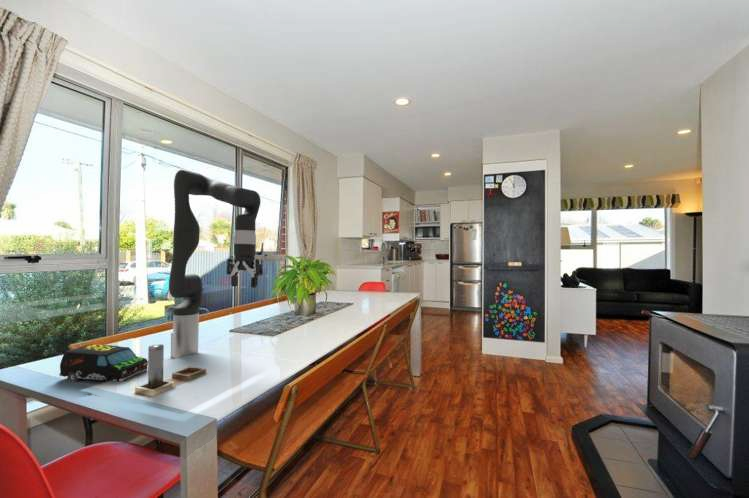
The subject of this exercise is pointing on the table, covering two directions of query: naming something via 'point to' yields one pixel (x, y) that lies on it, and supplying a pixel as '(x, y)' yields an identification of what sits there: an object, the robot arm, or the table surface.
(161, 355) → the grey tall bar
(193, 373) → the wooden trays
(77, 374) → the toy van
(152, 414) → the table surface
